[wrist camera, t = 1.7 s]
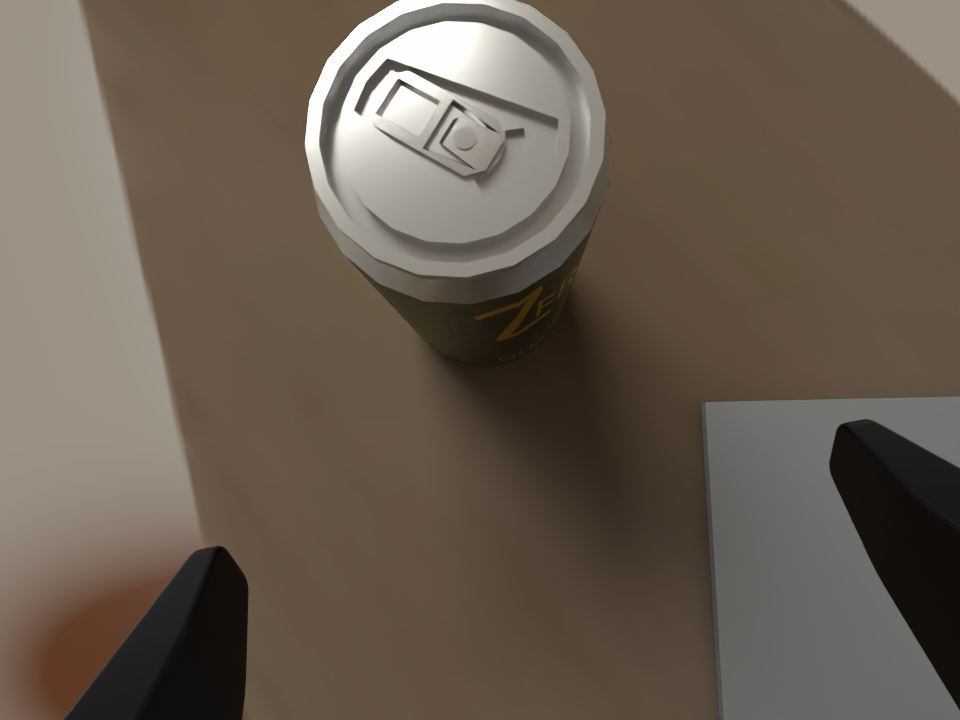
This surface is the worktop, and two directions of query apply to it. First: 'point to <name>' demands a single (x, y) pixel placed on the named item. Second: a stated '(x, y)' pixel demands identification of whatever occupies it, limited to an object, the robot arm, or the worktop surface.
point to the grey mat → (809, 566)
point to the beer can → (462, 168)
